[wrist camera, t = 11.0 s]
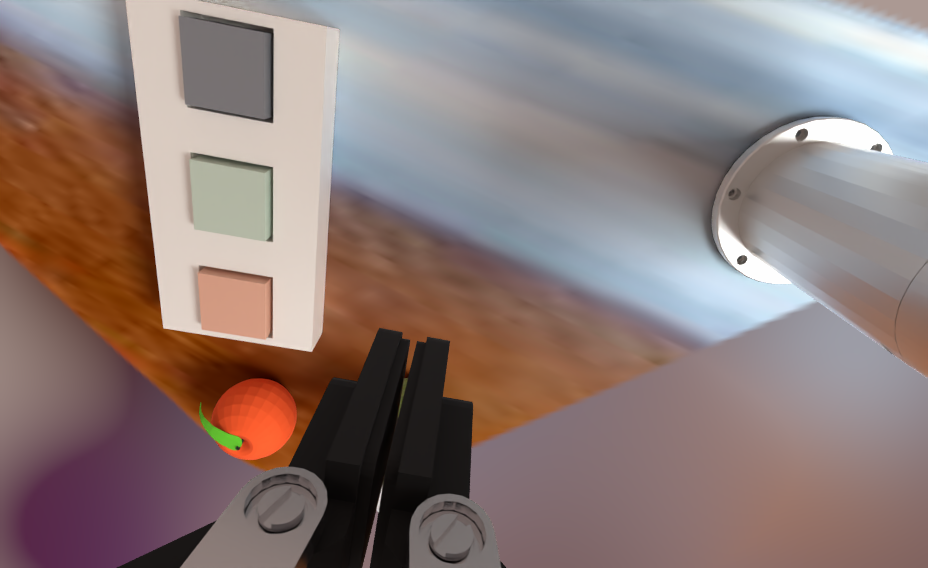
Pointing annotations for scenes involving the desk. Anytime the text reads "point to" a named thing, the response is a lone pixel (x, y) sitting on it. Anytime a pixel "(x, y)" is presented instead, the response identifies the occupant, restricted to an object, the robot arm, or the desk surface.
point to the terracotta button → (236, 302)
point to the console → (248, 140)
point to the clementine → (252, 419)
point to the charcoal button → (227, 67)
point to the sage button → (232, 197)
